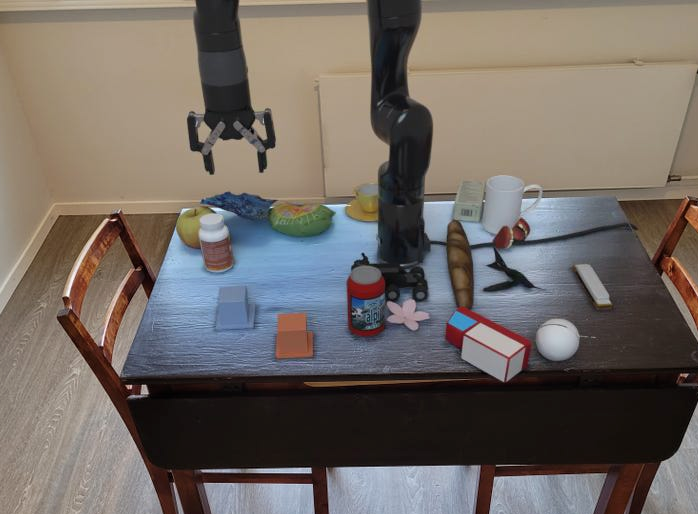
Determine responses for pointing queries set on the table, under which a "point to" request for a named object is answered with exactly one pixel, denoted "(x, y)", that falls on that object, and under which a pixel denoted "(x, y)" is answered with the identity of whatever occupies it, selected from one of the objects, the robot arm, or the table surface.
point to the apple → (191, 225)
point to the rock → (241, 204)
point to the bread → (460, 264)
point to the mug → (505, 202)
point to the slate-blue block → (233, 304)
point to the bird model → (511, 273)
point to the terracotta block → (292, 332)
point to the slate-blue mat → (238, 325)
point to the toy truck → (488, 344)
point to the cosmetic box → (469, 200)
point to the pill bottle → (215, 243)
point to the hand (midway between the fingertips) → (237, 172)
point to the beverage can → (366, 301)
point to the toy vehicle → (398, 279)
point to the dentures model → (512, 234)
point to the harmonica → (592, 286)
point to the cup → (364, 203)
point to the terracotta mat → (298, 354)
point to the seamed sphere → (557, 339)
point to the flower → (406, 314)
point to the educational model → (300, 218)
